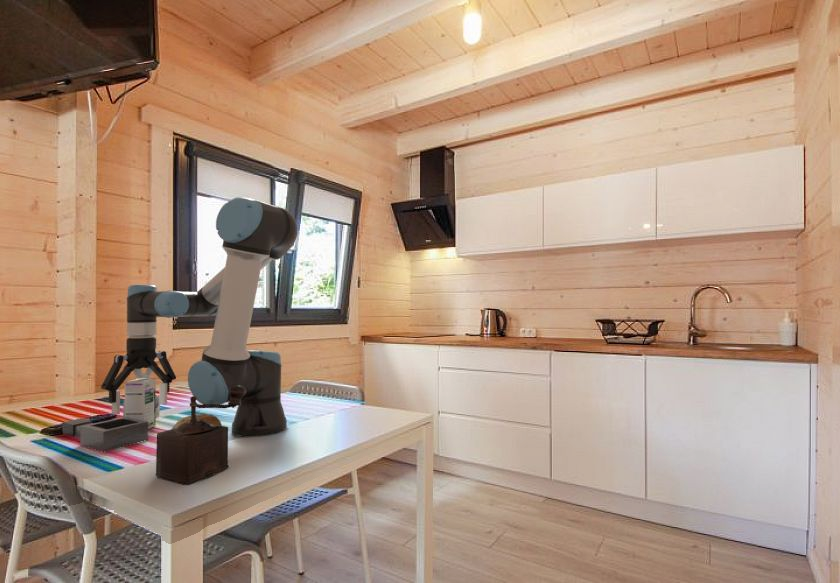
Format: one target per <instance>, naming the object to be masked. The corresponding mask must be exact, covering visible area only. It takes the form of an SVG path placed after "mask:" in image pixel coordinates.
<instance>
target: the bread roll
mask: <svg viewBox="0 0 840 583" xmlns="http://www.w3.org/2000/svg"><path fill="white" fill-rule="evenodd" d="M190 419H191V415H188V416H185V417H182V418H181V419H179V420H178V421H177V422H176V423H174V425H173V426H172V428H171V429H174V428H178V427H179V426H180V425H182V424H183V423H185V422H188V421H190ZM196 419H197V420H203V421H205V422H207V423H209V424H213V425H220V426H223V425H222V421H221V420H220V419H219V418H218V416H215V415H213V414H206V413H199V414H197V413H196Z"/></svg>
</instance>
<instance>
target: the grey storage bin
mask: <svg viewBox="0 0 840 583" xmlns="http://www.w3.org/2000/svg"><path fill="white" fill-rule="evenodd" d="M62 431H63V434H62V435H67V436H70V437H77V438H79V439H80V444H79V445H81V446H80V447H84V446H85V447H84V448H87V447H89V448H88V449H91V448H93V449H92V450H94V449H96V450H95V451H97V450H99V452H101V451H102V453H105V452H104V451H106V452H109V451H114V450H117V449H121V448H124V447H127V446H126V445H128V446H131V445H130V444H132V445H134V444H133V443H136V444H138V443H137V442H140V443H142V442H141V441H143V442H145V441H144V440H147V441H149V429H148V421H143V420H139V419H134V418H129V417H123V416H122V417H119V418H113V419H109V420H105V421H104V420H103V421H98V422H94V423H93V420H91V419H86V418H77V419H72V420H67V421H63V422H62ZM62 431H61V432H62ZM123 446H124V447H123ZM120 447H121V448H120ZM108 450H109V451H108Z"/></svg>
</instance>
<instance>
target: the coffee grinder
mask: <svg viewBox="0 0 840 583" xmlns="http://www.w3.org/2000/svg"><path fill="white" fill-rule="evenodd" d="M228 393H229V395H230V401H229V402H227V404H201V403H197V400H196V399H197V398H196V397H195V396H193V395H192V396H191V397H190V398H189V401H190V403H189V407H190V412H191V413H190V416H191V419H190V421H188V422H185V423H183V424H182V425H180V426H179V427H178V428H174V429H172V428H171V429H167V430H164V431H160V432H157V434H156V449H155V450H156V451H155V453H156V454H155V455H156V457H155V458H156V459H155V460H156V461H155V462H156V463H155V465H156V466H155V478H158V479H161V480H165V481H169V482H172V483H175V484H176V483H177V484H181V485H185V486H189V485H192V484H195V483H197V482H199V481H200V482H201V481H202V480H205V479H207V478H210V477H212V476H214V475H216V474H218V473H221V472H223V471H225V470H227V469H228V468H229V426H226V425H222V426H220V425H213V424H209V423H207V422H205V421H203V420H197V419H196V414H197V412H196V411H197V410H196V409H197V408H199V409H229V408H232V409H234V408H236V407H238V406H240V405H241V402H240V400H241V399H242V397H243V396H244V395H245V394H246V389H245V388H244V387H243V386H239V385H233V386H231V387H230V388H229V389H228Z"/></svg>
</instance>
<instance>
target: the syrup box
mask: <svg viewBox="0 0 840 583" xmlns="http://www.w3.org/2000/svg"><path fill="white" fill-rule="evenodd" d="M156 381H157V380H156V378H152V377H149V378H140V379H138V378H136V379H133V380H128V381H124V400H125V417H129V418H134V419H139V420H143V421H148V430H149V429H151V428H154V427H156V424H157V420H156V419H157V418H156V395H157V394H156ZM153 426H154V427H153Z"/></svg>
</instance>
